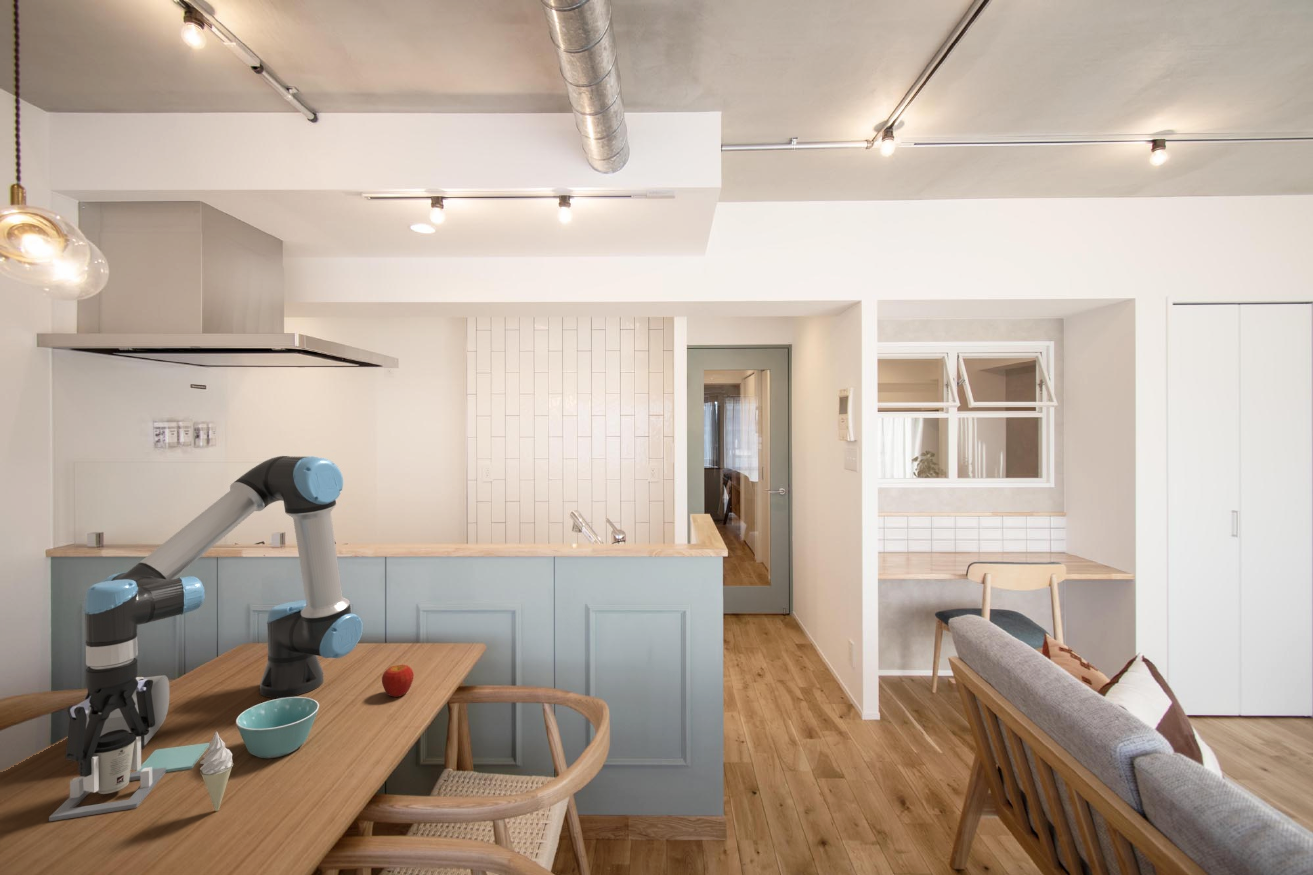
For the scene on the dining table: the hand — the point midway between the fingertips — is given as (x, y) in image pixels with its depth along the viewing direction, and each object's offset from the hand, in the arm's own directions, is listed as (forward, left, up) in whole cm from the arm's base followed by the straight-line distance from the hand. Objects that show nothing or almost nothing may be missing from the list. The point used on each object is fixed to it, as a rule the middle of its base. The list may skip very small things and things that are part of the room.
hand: (113, 778), depth 119 cm
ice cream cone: (-21, +12, -3) cm, 24 cm away
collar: (0, 0, -3) cm, 3 cm away
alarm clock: (+7, -23, -3) cm, 24 cm away
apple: (-49, -32, -3) cm, 58 cm away
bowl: (-26, -10, -3) cm, 28 cm away
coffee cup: (0, 0, -2) cm, 2 cm away
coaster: (-6, -11, -3) cm, 13 cm away
